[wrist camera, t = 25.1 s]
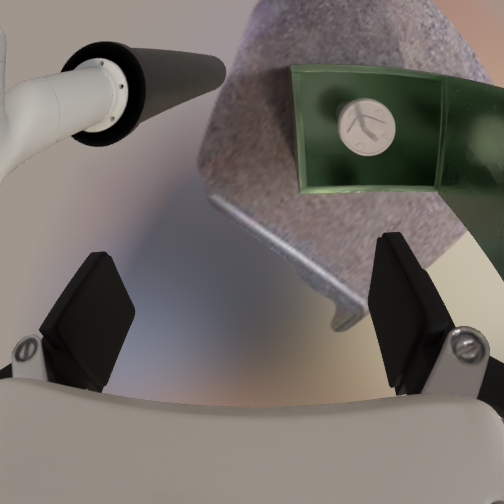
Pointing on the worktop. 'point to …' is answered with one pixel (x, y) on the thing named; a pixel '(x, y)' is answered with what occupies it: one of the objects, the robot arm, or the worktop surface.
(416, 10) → the worktop surface
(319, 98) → the caddy
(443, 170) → the lid
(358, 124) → the smoothie
